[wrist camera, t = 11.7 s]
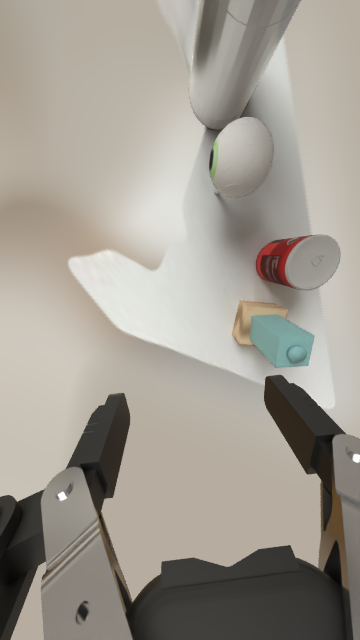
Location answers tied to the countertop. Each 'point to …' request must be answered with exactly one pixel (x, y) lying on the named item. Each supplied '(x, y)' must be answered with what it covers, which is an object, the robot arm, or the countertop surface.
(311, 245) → the canned food
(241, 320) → the wooden block
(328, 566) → the robot arm
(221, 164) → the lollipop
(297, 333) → the teal brick
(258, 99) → the countertop surface
